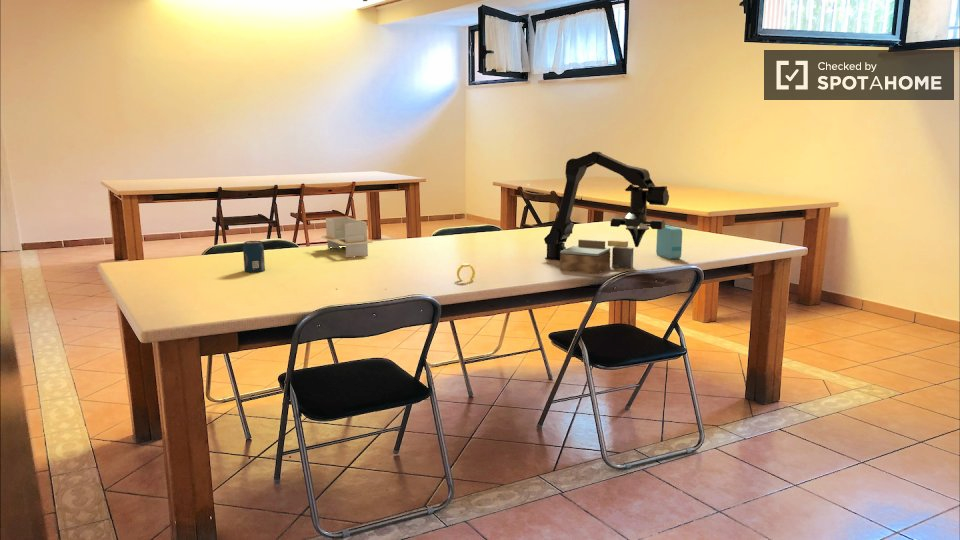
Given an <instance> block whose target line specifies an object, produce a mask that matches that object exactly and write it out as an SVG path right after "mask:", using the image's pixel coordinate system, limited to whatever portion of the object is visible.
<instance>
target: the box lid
mask: <svg viewBox="0 0 960 540" xmlns="http://www.w3.org/2000/svg"><path fill="white" fill-rule="evenodd" d="M577 244H578V245H573V246H570V247H566V249H564V250H562V251H560V253H563V254H576V255H589V256H599V255H601V254H604V253H606V252H608V251H610V252H611V248H610V247H606V241H605V240H594V239H593V240H592V239H578V243H577Z"/></svg>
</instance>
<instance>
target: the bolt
mask: <svg viewBox="0 0 960 540" xmlns="http://www.w3.org/2000/svg"><path fill="white" fill-rule="evenodd" d="M628 246H629V241H628V240H616V239H608V240H607V247H628Z"/></svg>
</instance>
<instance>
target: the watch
mask: <svg viewBox="0 0 960 540" xmlns="http://www.w3.org/2000/svg"><path fill="white" fill-rule="evenodd" d="M469 267H470V269H471V271H472V272H471V273H472V274H471V276H470V277H469V278H468V279H464V280H463V279H462V278H461V277H460V272H461V270H462V269H463V268H469ZM475 274H476V271H475V269H474V267H473V266H472V265H470V263H466V262H465V263H461V265H460V266H459V267H458V268H457V270H456V276H457V279H458V280H459V281H461V282H467V281H468V282H469V281H471V282H472V281H473V279H474V277H475Z"/></svg>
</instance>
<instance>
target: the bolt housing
mask: <svg viewBox="0 0 960 540" xmlns="http://www.w3.org/2000/svg"><path fill="white" fill-rule="evenodd" d="M634 250H635V247H614V246H612V250H611V251H612V252H611V253H612V254H611V255H612V256H611V259H612V260H611V267H612V268H619V269H621V268H622V269H632V268H633V267H634Z"/></svg>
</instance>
